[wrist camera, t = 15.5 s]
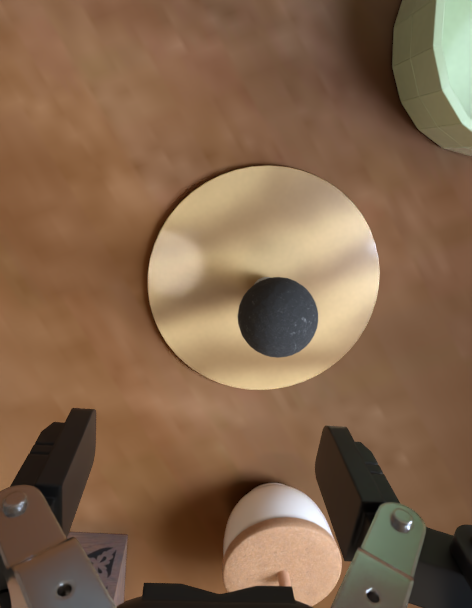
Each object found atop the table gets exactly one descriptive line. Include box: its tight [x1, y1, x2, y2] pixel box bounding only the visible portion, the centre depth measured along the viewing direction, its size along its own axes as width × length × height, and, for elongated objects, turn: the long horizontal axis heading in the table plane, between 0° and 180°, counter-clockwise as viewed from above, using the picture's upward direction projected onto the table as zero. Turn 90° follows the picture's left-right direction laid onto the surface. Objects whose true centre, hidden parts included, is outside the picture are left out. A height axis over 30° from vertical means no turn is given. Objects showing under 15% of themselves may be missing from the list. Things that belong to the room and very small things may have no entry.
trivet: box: [148, 165, 379, 390], centre depth 37 cm, size 20×20×1 cm
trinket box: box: [222, 483, 342, 606], centre depth 41 cm, size 11×11×9 cm
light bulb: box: [238, 277, 318, 358], centre depth 32 cm, size 6×6×10 cm
